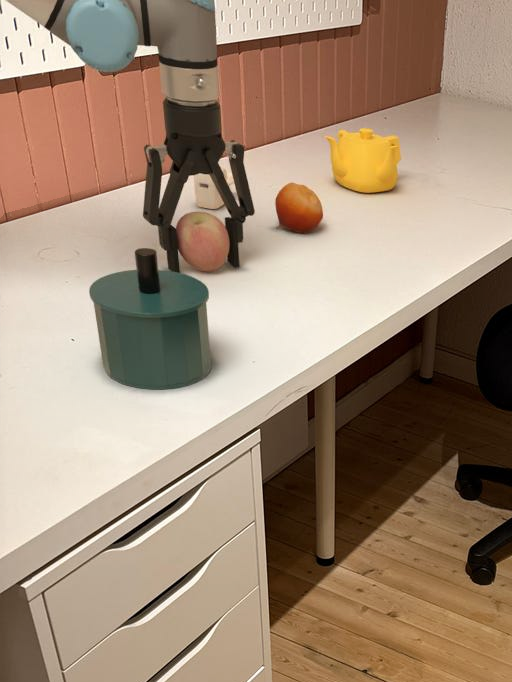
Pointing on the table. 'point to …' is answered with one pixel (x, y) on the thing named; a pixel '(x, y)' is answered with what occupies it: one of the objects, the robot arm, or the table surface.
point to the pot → (155, 348)
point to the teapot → (365, 160)
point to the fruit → (298, 208)
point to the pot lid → (148, 290)
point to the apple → (202, 240)
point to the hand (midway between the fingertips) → (204, 267)
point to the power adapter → (209, 190)
